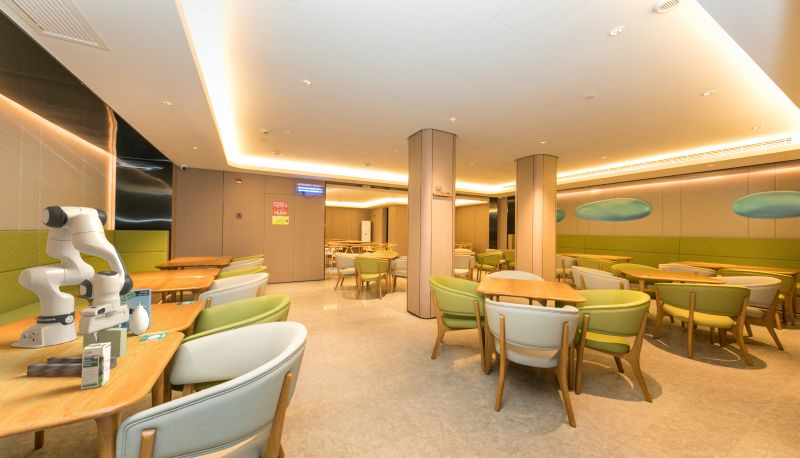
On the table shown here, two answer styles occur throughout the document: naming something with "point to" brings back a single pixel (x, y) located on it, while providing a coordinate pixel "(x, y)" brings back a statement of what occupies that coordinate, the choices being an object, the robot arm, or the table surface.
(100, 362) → the syrup box
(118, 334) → the door panel
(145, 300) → the gum box
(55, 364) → the track
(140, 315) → the white air blower bulb
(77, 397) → the table surface
